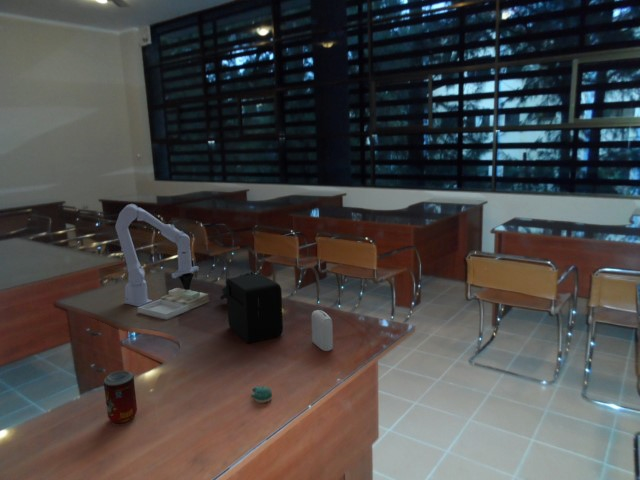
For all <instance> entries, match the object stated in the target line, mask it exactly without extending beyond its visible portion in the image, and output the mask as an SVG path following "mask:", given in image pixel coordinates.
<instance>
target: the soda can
mask: <svg viewBox="0 0 640 480" xmlns="http://www.w3.org/2000/svg"><path fill="white" fill-rule="evenodd" d="M135 387H136V386H135V377H134V374H133V373H132V372H130V371H127V370H118V371H114V372H110V373H109V374H108V375H107V376H106V377H104V380H103V389H104V395H105V396H104V397H105V405H106V412H107V418H108V420H110V421H111V424H112V425H113V426H123V425H127V424H129V423H131V422H133V421H134V419H135V418H136V414H137V411H138V404H137V397H136V396H137V395H136V389H135Z"/></svg>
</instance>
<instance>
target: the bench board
mask: <svg viewBox="0 0 640 480" xmlns="http://www.w3.org/2000/svg"><path fill="white" fill-rule="evenodd" d="M189 291H191V289H189V290H185V293H187V292H189ZM195 292H197V291H195ZM160 299H162V300H167V301H171V302H176V303H180V304H185V305H188V309H189V311H191V310H192V309H195V308H198V307H200V306H202V305H204V304H206V303H209V302H210V293H204V292H200V297H198V298H195V299H193V300H189V299H184V298H183V295H180V296H178V297H175V296H170V295H169V293H167V294H166V295H164V296H161V297H160Z"/></svg>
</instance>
